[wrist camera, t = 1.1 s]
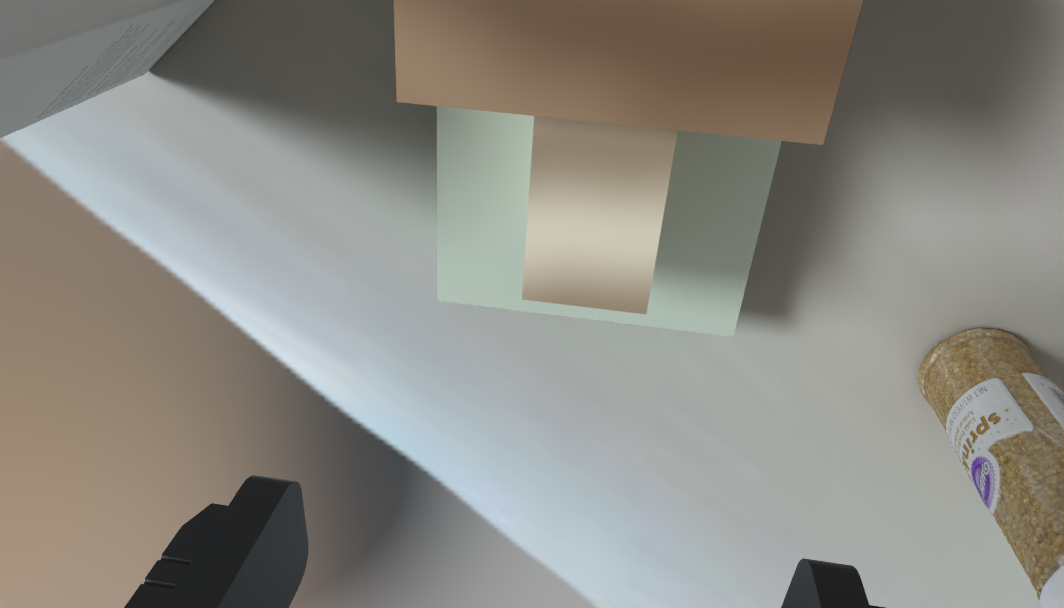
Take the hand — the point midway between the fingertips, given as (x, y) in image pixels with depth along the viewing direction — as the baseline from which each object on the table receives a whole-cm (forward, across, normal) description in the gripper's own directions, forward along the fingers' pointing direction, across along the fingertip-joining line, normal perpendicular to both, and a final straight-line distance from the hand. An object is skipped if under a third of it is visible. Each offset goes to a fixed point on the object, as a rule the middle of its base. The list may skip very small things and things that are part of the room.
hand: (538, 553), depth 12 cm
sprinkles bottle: (+20, -17, +8) cm, 28 cm away
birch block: (+17, 0, -3) cm, 17 cm away
